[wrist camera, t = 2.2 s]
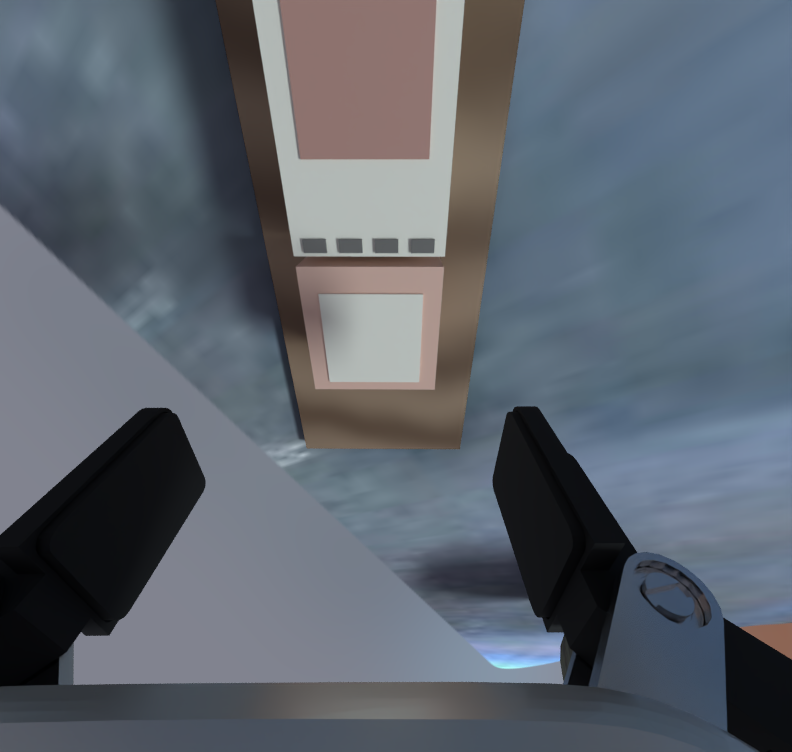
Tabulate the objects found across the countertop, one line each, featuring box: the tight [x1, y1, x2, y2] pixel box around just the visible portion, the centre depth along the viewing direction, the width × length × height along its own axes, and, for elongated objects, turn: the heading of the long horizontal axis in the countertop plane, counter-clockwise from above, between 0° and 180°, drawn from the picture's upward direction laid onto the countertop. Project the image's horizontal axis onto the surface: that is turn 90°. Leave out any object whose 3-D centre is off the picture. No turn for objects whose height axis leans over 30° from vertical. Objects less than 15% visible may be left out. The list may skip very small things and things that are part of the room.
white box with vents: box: [252, 0, 465, 257], centre depth 11 cm, size 15×6×5 cm, turn 0°
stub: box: [296, 256, 444, 390], centre depth 17 cm, size 6×6×5 cm
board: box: [215, 0, 525, 449], centre depth 17 cm, size 32×12×1 cm, turn 0°
